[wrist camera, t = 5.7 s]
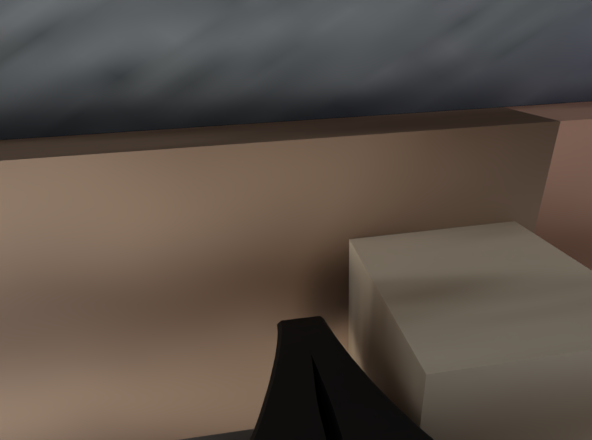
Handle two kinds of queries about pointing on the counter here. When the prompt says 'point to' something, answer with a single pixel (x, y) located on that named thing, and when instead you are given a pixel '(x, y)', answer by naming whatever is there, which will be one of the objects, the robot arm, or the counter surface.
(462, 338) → the maple block
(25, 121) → the counter surface
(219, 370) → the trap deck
